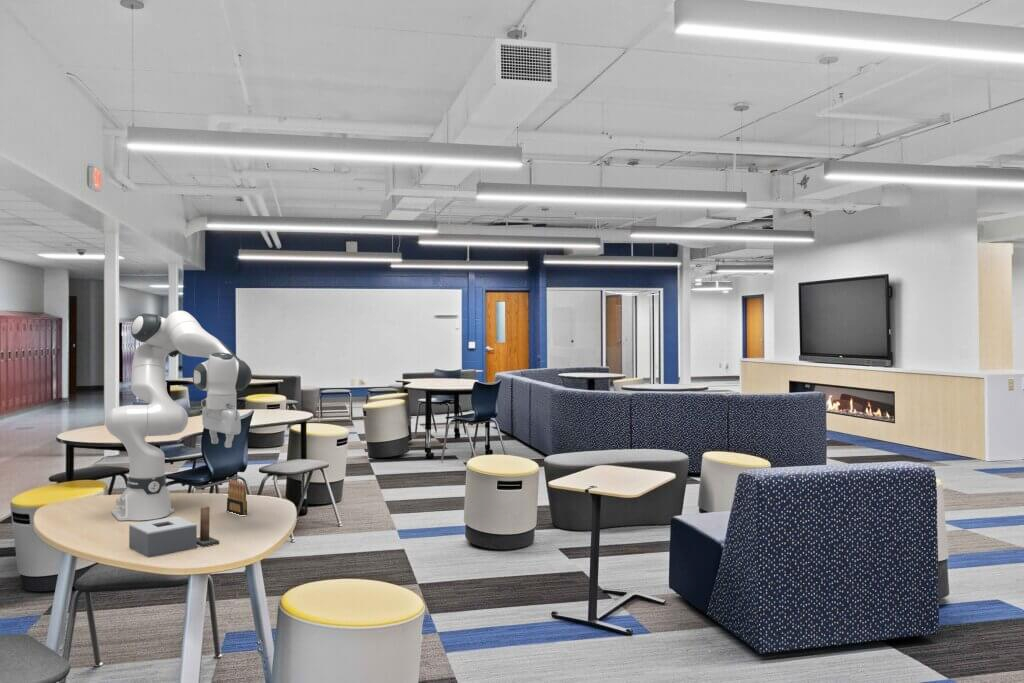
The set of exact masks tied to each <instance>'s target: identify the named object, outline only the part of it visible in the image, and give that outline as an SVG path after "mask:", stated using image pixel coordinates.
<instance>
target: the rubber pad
mask: <svg viewBox="0 0 1024 683" xmlns="http://www.w3.org/2000/svg"><path fill="white" fill-rule="evenodd" d="M213 544H217V545H219V544H220V540H218V539H215V538H213V537H211V536H209V540H207V541H200V536H199V537H197V544H196V546H199V545H200V546H199V547H201V546H203V547H202V548H205V547H204V546H207V547H209V546H208V545H212V546H214V545H213Z"/></svg>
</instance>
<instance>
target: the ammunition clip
mask: <svg viewBox="0 0 1024 683" xmlns="http://www.w3.org/2000/svg"><path fill="white" fill-rule="evenodd" d="M227 511H229V512H233V513H236V514H239V515H247V516H248V501H247V491H246V483H245V481H243V482H242V481H240V480H236V479H235V480H234V479H232V478H230V479H229V481H228V491H227V498H226V512H227Z"/></svg>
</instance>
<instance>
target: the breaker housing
mask: <svg viewBox="0 0 1024 683" xmlns="http://www.w3.org/2000/svg"><path fill="white" fill-rule="evenodd" d="M197 527H198V526H197V523H194V522H192V521H189V520H187V519H185V518H182V517H179V516H170V517H165V518H164V517H162V518H157V519H151V520H144V521H139V522H133V523H129V526H128V528H129V531H128V546H129V547H130V548H129V547H128V548H129V549H131V550H133V551H135V552H137V553H139V554H141V555H143V556H145V557H147V558H151V557H156V556H161V555H166V554H172V553H177V552H181V551H186V550H192V549H196V548H197V538H198V537H197V536H198V535H197V533H198V532H197ZM195 547H196V548H195ZM191 548H192V549H191Z"/></svg>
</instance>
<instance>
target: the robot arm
mask: <svg viewBox="0 0 1024 683" xmlns="http://www.w3.org/2000/svg"><path fill="white" fill-rule="evenodd" d="M130 332H131V333H130V334H131V336H132V338H134V339H135V340H137V341H138V342H141V343H143V344H139V346H138V347H136V349H135V351H134V354H133V358H132V364H131V378H130V379H131V380H130V382H131V383H130V390H131V392H132V394H133V395H134V396H135V397H136V398H138V400H141V401H144V402H146V403H147V404H135V405H134V404H130V405H122V406H117V407H113V408H111V410H110V411H109V412H108V413H107V415H106V418H105V426H106V429H107V431H108V432H109V434H111V435H112V436H113V437H115V438H116V439H118V441H120V442H121V443H122V444H123V445H124V448H125V449H126V451H127V455H128V456H127V457H128V461H129V463H128V465H129V476H128V478H127V482H126V488H125V490H124V491H123V492H122V493H121V494H120V496H119V498H116V502H115V503H116V506H117V508H115V509H112V510H111V513H112V515H113V516H114V517H115V519H116V520H117V521H121V522H122V521H151V520H157V519H163V518H164V517H165V518H166V517H167V516H169V515H170V514H172V513H173V514H174V512H175V508H172V507H171V506H172V505H171V491H170V489H169V488H167V487H166V485H167V475H166V474H165V468H166V466H165V465H166V464H165V463H166V461H165V458H166V456H165V455H166V454H165V453H164V451H163V450H162V449H161V448H159V447H157V446H155V445H152V444H150V443H149V442H147V441H146V437H159V436H160V437H161V436H170V435H176V434H180V433H182V432H183V431H184V430H185V429H186V427H187V425H188V423H189V414H188V412H187V411H186V409H185V408H184V407H183V406H182V405H180V404H178V403H177V402H176V401H175V400H173V399H172V397H171V396H170V394H169V393H168V390H167V389H168V388H167V382H166V359H167V357H168V356H169V357H171V358H175V357H177V356H178V355H181V354H183V355H184V356H187V357H198V358H207V360H205V361H203V362H200V363H198V364H197V365H196V366H195V367H194V369H193V371H192V383H193V385H194V386H195V387H196V388H197V389H198V390H200V391H207V394H206V395H207V396H206V397H205V398H204V399H202V400H201V401H200V403H201V404H200V405H201V407H202V411H201V413H202V414H201V416H202V417H201V418H202V425H203V428H204V429H206V430H209V432H208V433H209V435H210V441H211V442H210V443H211V444H213V445H217V444H219V440H220V439H219V437H218V434H217V433H221V434H225V441H224V445H223V447H224V448H227V449H229V448H232V447H233V446H232V445H233V443H232V442H233V441H234V438H235V436H236V435H240V433H241V431H242V423H241V422H242V421H241V413H240V412H239V411H238V409H237V394H238V392H237V391H243V390H245V389H246V388H247V387H248V386H249V385H250V383H251V381H252V378H253V376H252V375H253V374H252V368H250V366H249V365H248V363H246V362H245V361H244V360H242V359H240V358H239V357H238V356H237V355H236V354H235V353H234V352H233V350H231V349H230V347H228V346H227V344H225V343H224V342H223V341H222V340H220V339H219V338H217V337H215V336H214V335H212V334H210V333H209V332H208V331H206V330H205V329H204V328H203V327H202V326H201V324H200V323H199V321H197V319H196V318H195V317H194V316H193V315H192V314H191V313H189V312H187V311H185V310H176V311H173V312H171V313H170V314H169V315H168V316H167V317H166V318H165V317H163V316H160V315H159V314H156V313H155V314H154V313H147V312H146V313H141V314H138V315H137V316H136V317H135V318H134V319H133V321H132V323H131V326H130ZM118 506H119V507H118Z"/></svg>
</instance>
